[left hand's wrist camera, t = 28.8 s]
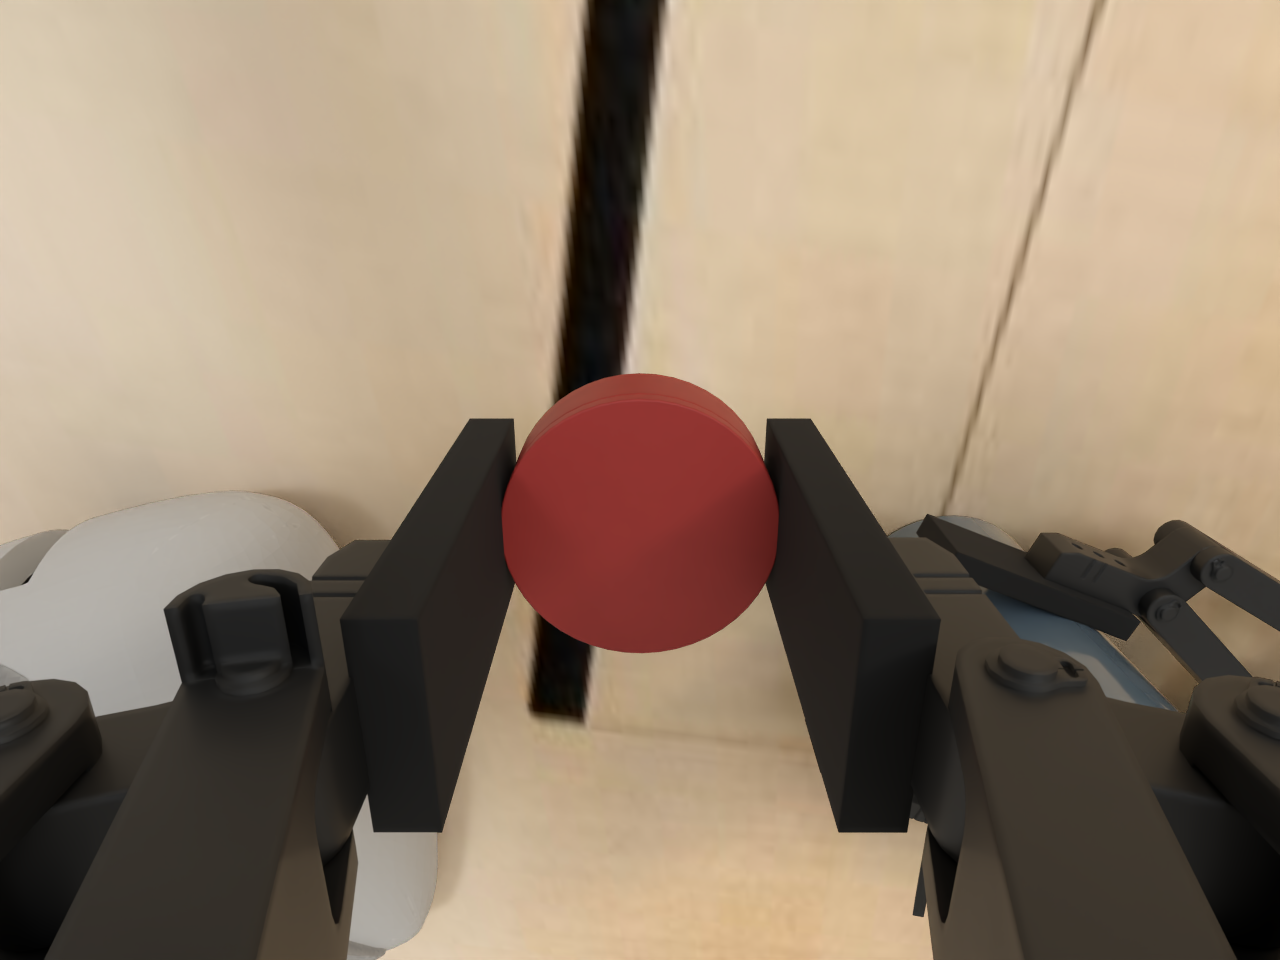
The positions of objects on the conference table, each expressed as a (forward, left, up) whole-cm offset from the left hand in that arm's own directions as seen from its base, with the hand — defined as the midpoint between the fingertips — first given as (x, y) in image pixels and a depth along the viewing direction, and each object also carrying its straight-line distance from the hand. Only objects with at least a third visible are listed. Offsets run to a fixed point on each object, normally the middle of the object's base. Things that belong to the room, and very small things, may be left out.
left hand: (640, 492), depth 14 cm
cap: (0, 0, +1) cm, 1 cm away
